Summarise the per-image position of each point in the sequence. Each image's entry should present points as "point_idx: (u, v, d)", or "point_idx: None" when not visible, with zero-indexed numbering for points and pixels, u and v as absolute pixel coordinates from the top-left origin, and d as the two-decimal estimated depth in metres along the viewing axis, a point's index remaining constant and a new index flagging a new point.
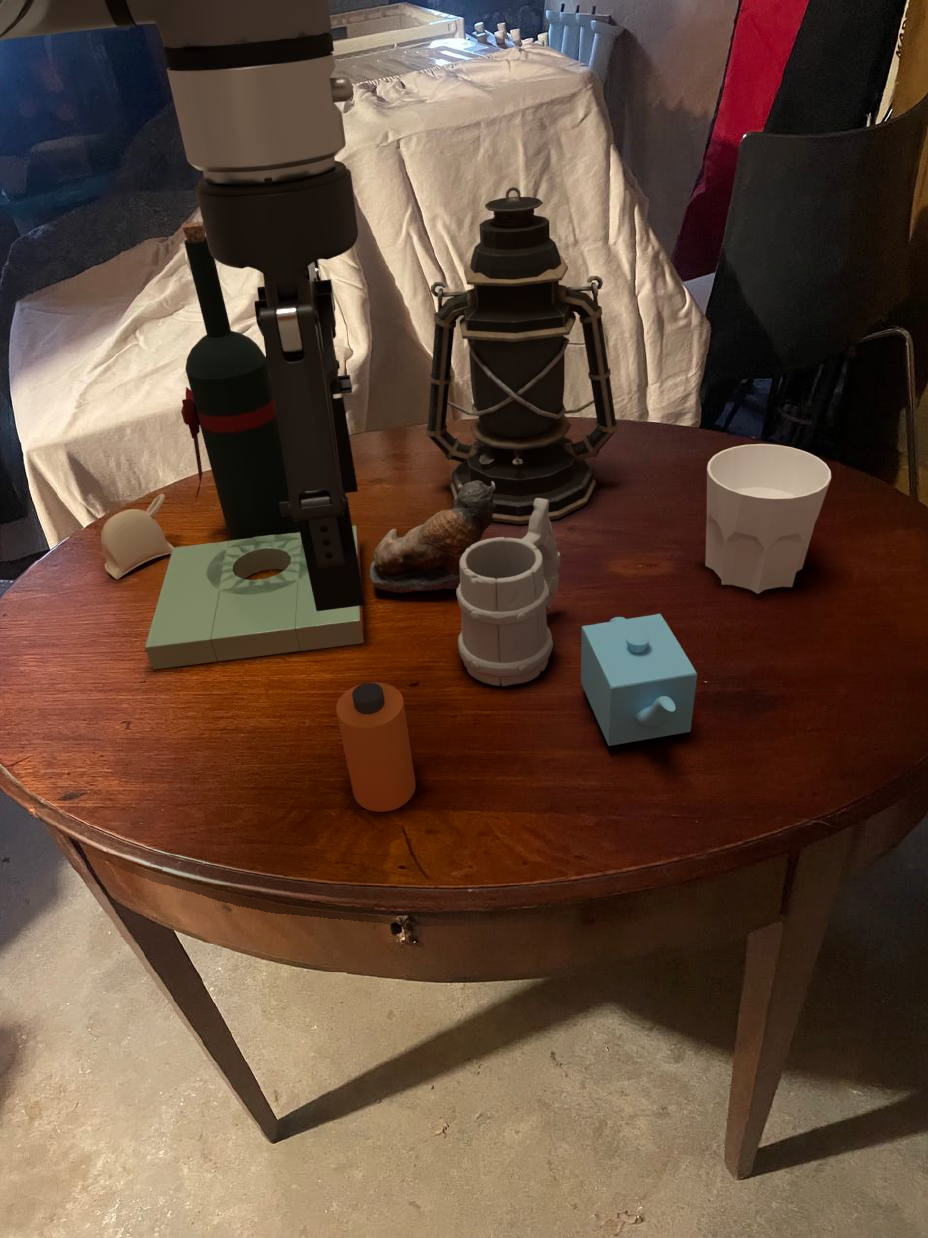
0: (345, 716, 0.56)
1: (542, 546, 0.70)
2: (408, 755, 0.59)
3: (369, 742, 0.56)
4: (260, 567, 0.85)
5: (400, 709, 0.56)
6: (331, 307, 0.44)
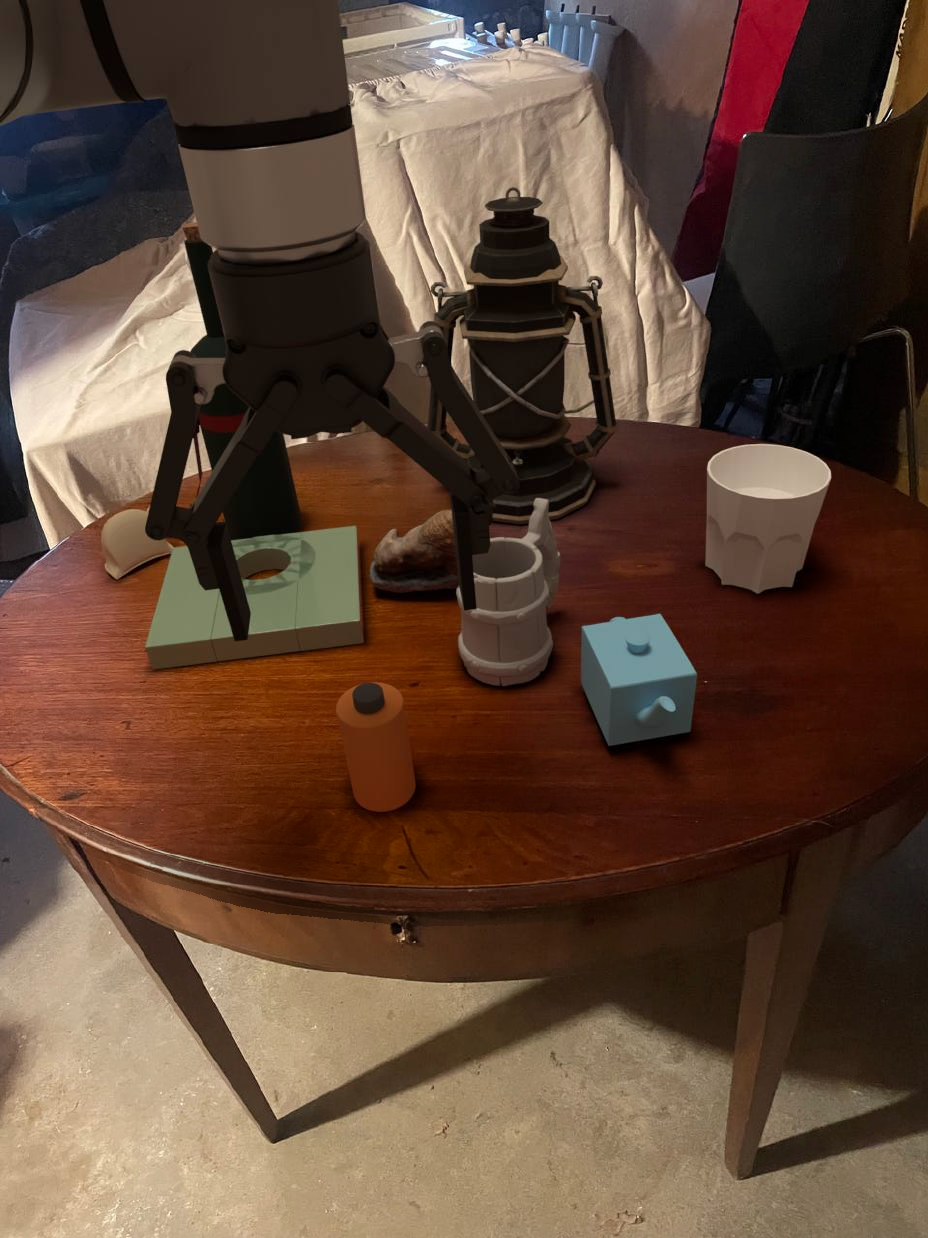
0: (345, 716, 0.56)
1: (542, 546, 0.70)
2: (408, 755, 0.59)
3: (369, 742, 0.56)
4: (260, 567, 0.85)
5: (400, 709, 0.56)
6: None
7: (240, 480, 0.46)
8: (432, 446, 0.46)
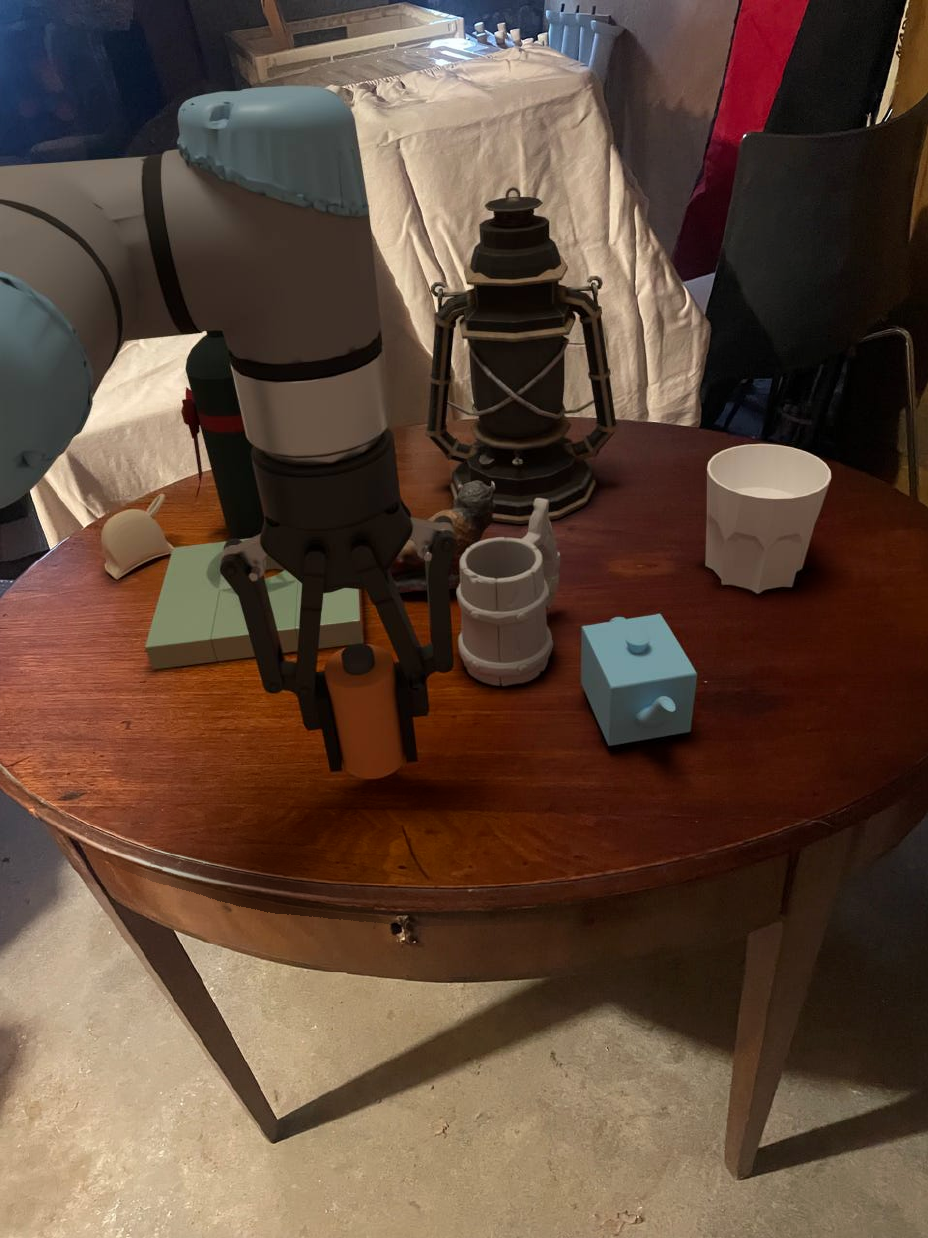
0: (334, 677, 0.54)
1: (542, 546, 0.70)
2: (399, 720, 0.57)
3: (358, 704, 0.54)
4: None
5: (391, 671, 0.54)
6: None
7: (318, 635, 0.52)
8: (405, 624, 0.52)
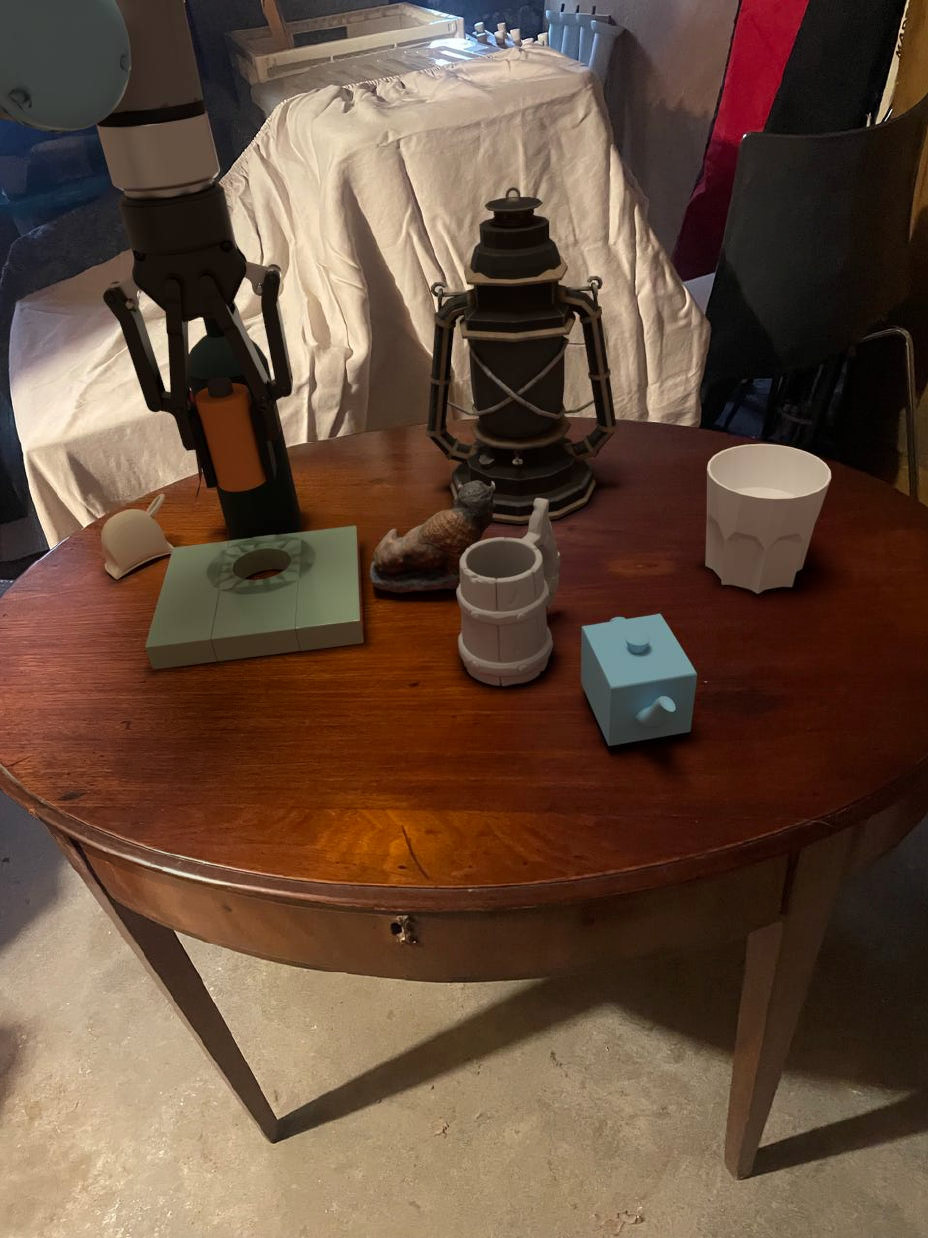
0: (201, 399, 0.71)
1: (542, 546, 0.70)
2: (256, 442, 0.74)
3: (219, 418, 0.71)
4: (260, 567, 0.85)
5: (244, 394, 0.72)
6: None
7: (183, 359, 0.69)
8: (249, 351, 0.69)
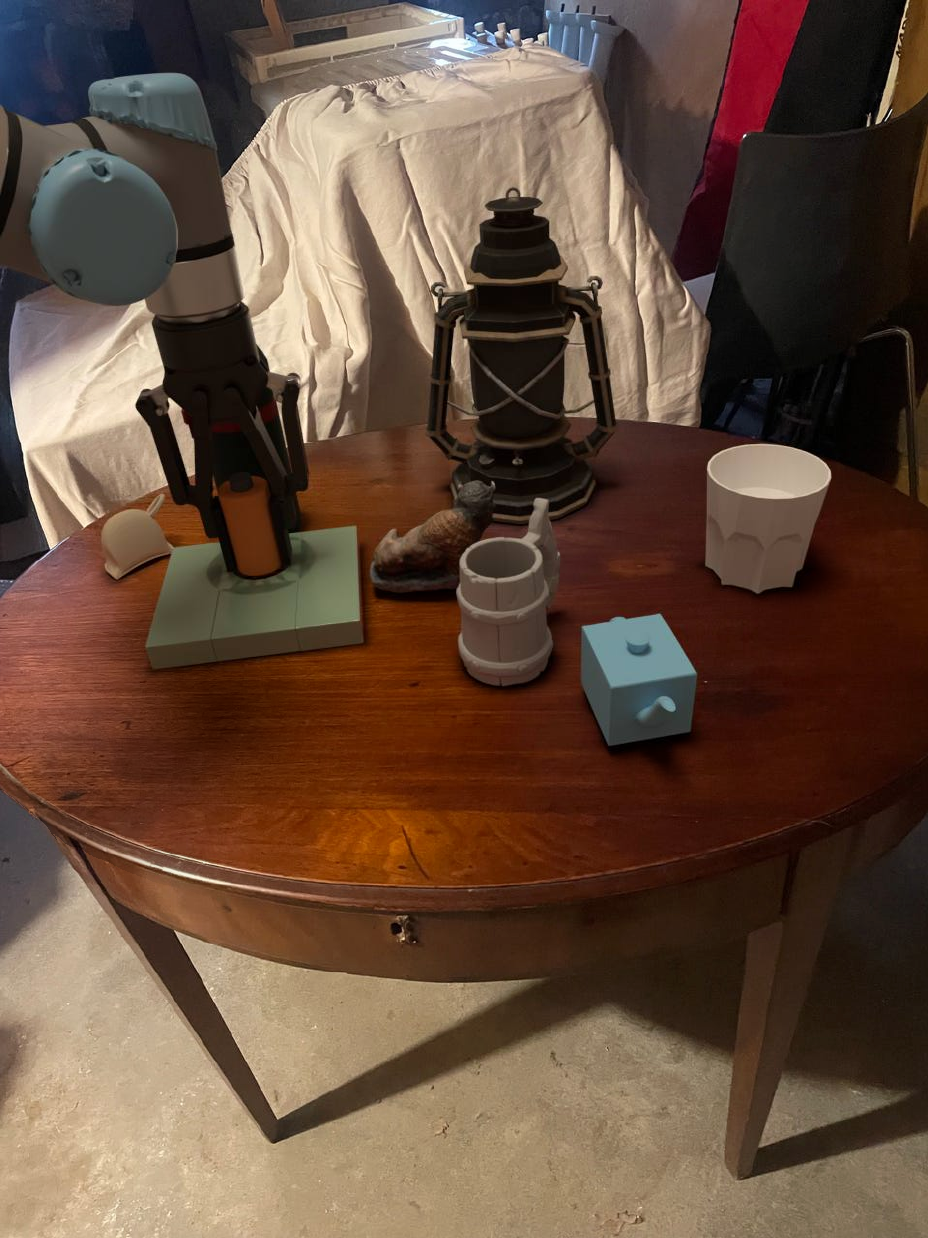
0: (223, 494, 0.76)
1: (542, 546, 0.70)
2: (274, 530, 0.79)
3: (240, 512, 0.76)
4: None
5: (264, 489, 0.77)
6: None
7: (208, 459, 0.74)
8: (269, 452, 0.75)
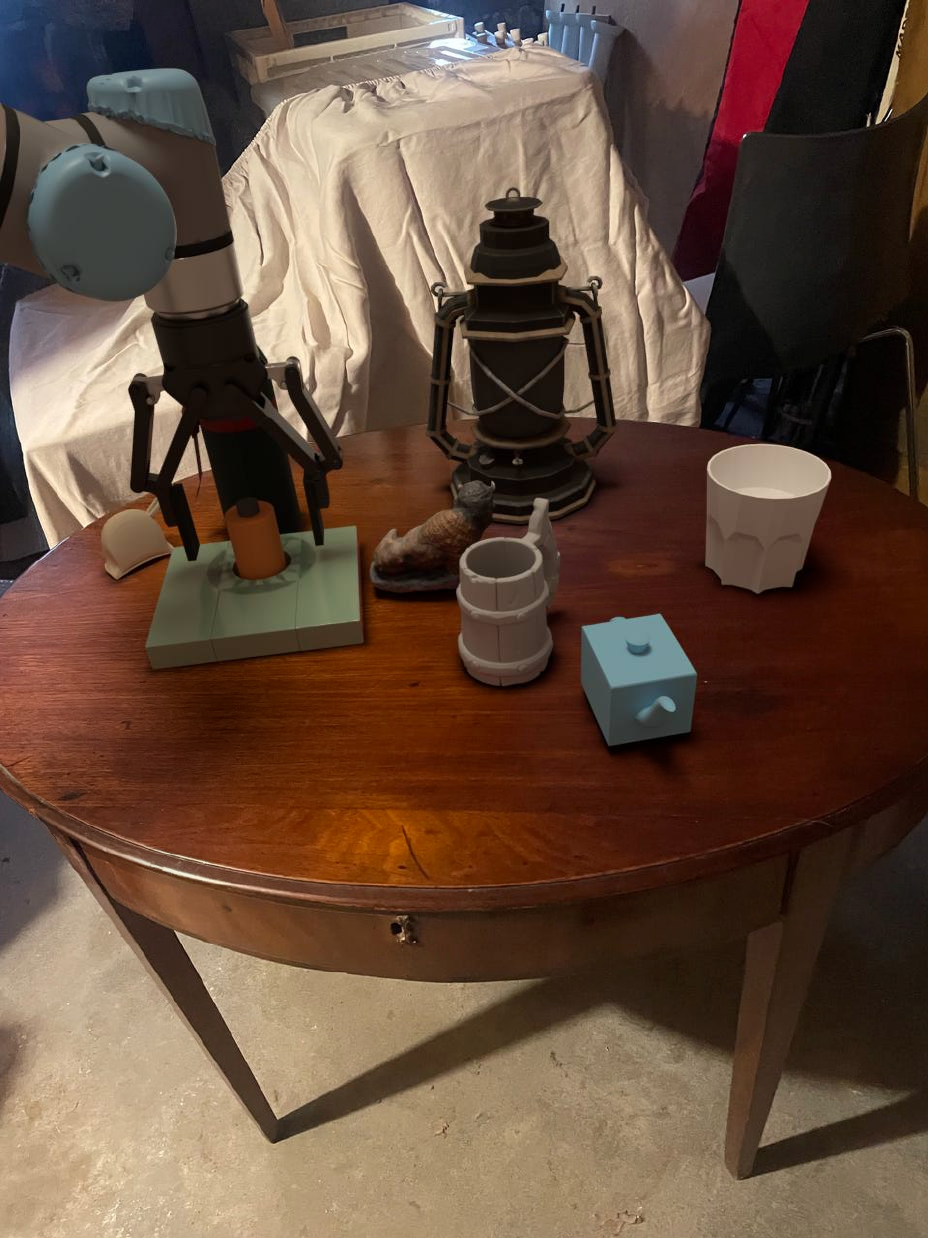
0: (230, 519, 0.78)
1: (542, 546, 0.70)
2: (280, 554, 0.81)
3: (247, 537, 0.78)
4: None
5: (270, 514, 0.78)
6: None
7: (183, 452, 0.74)
8: (289, 435, 0.74)
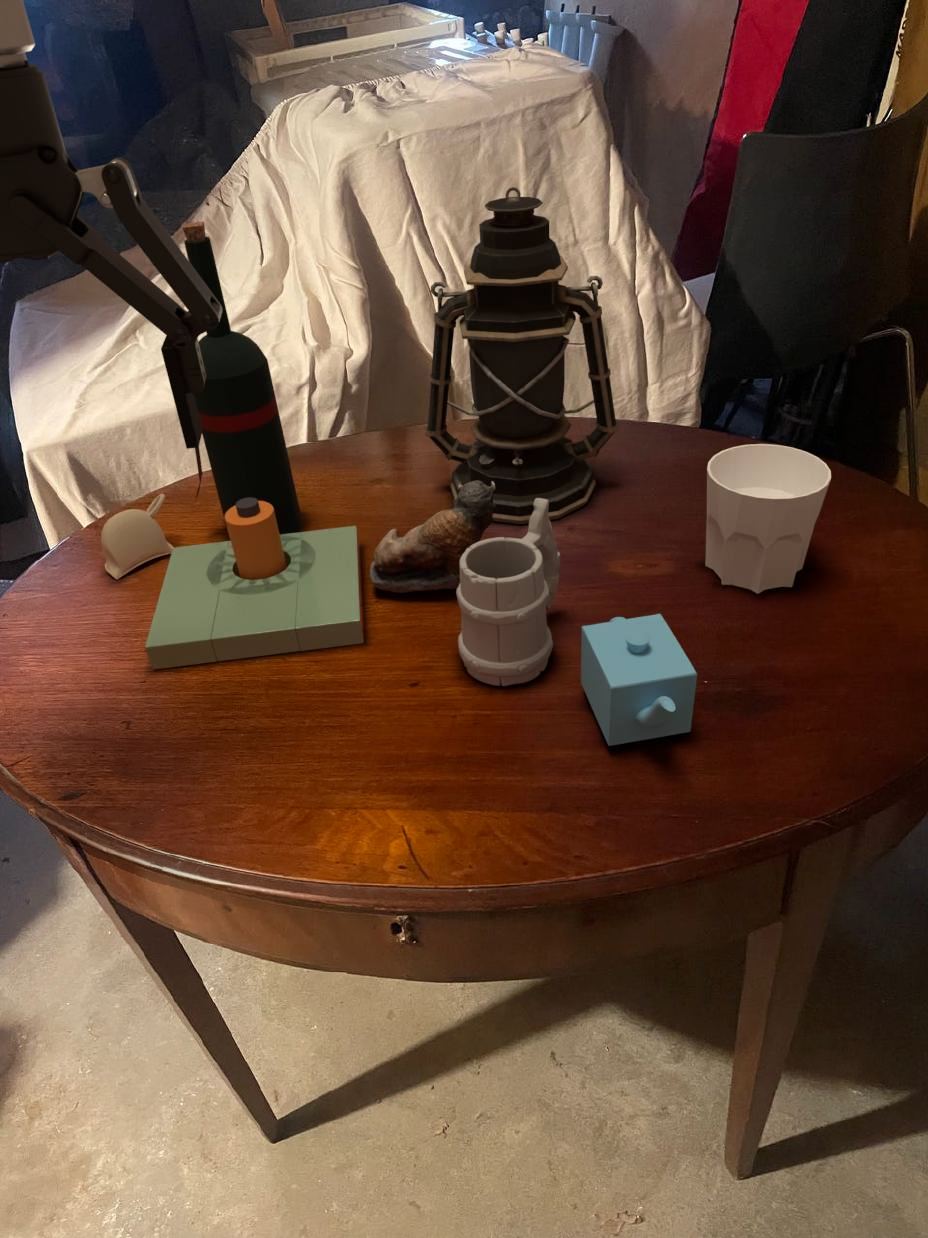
0: (230, 519, 0.78)
1: (542, 546, 0.70)
2: (280, 554, 0.81)
3: (247, 537, 0.78)
4: None
5: (270, 514, 0.78)
6: None
7: None
8: (128, 277, 0.50)
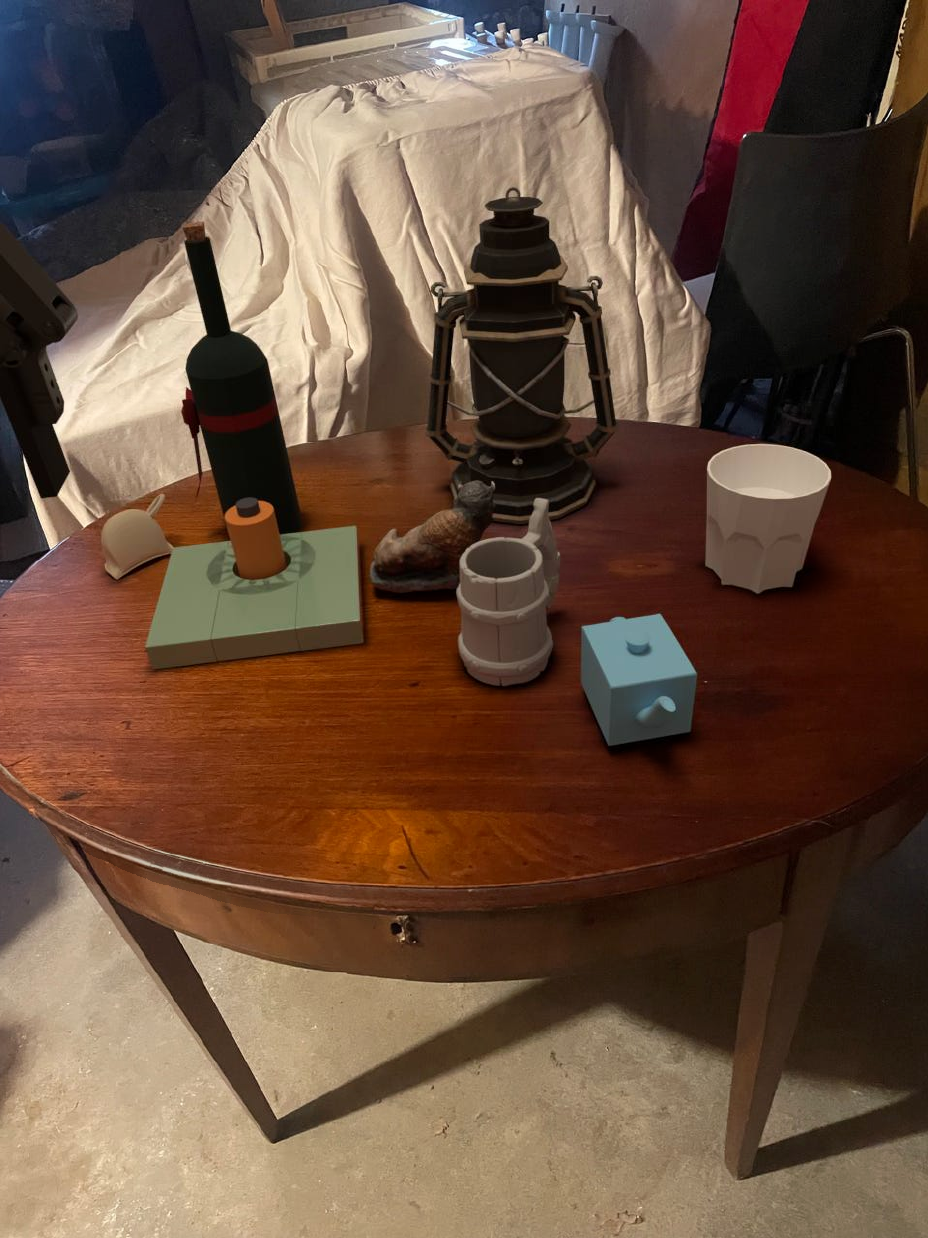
0: (230, 519, 0.78)
1: (542, 546, 0.70)
2: (280, 554, 0.81)
3: (247, 537, 0.78)
4: None
5: (270, 514, 0.78)
6: None
7: None
8: None
